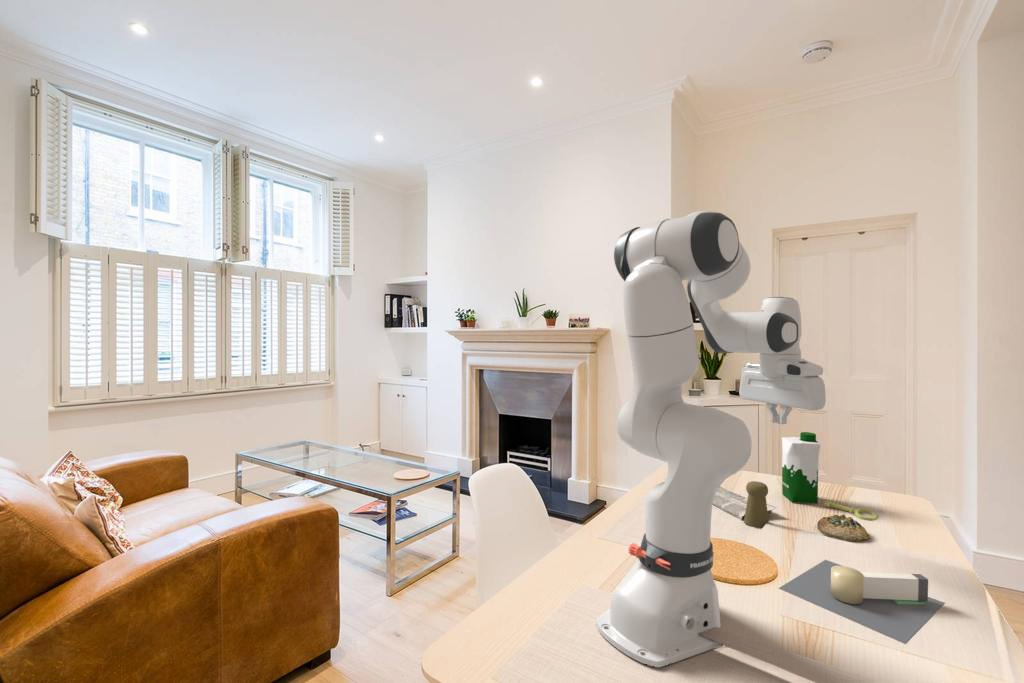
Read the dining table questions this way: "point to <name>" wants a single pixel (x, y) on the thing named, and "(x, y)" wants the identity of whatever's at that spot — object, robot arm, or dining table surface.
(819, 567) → the dial board
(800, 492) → the milk carton
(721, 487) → the newspaper
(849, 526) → the bread roll
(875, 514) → the key
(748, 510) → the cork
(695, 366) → the robot arm
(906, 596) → the dial lever
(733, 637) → the dining table surface
